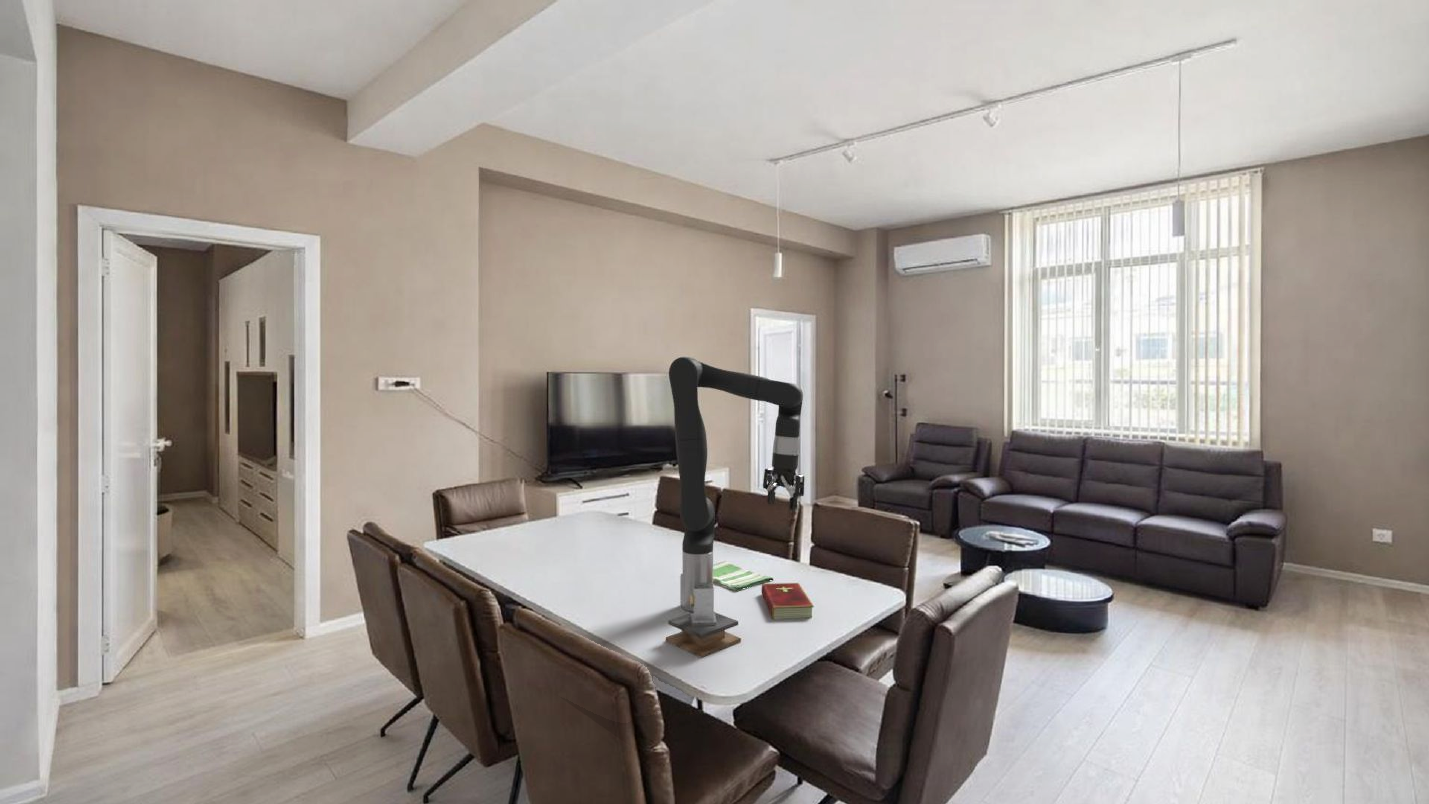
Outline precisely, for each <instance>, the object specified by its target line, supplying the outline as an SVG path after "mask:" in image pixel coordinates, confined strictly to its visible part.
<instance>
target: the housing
mask: <svg viewBox="0 0 1429 804" xmlns="http://www.w3.org/2000/svg"><path fill="white" fill-rule="evenodd" d="M714 592H715V587H714V583H712V582H708V583H694V595H690V607H694V614H691V623H692V626H707V625H717V622H716V617H715V613H716V612H715V607H714V605H715V593H714ZM714 612H715V613H714Z"/></svg>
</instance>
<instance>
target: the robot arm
mask: <svg viewBox="0 0 1429 804" xmlns="http://www.w3.org/2000/svg"><path fill="white" fill-rule="evenodd" d="M668 369H669V370H668V380H669V383H670V389H671V395H672V400H673V408H674V409H673V411H674V412H673V414H674V417H673V418H674V437H675V447H676V448H675V449H676V457H677V458H676V459H677V468H678V469H677V470H678V474H679V475H678V476H679V482H680V505H679V508H680V509H679V514H680V515H679V516H680V517H679V518H680V520H681V522H682V525H683V526H684V534H683V539H682V545H681V546H682V573H680V578H679V579H680V581H679V583H680V588H679V589H680V597H679V599H680V603H679V604H680V606H682V609H683V610H685V611H688V612H691V613H692V612H694V607H690V595H694V583H708V582H712V583H713V565H714V541H715V529H716V528H715V527H716V526H715V525H716V523H715V522H716V512H715V506H714V504H713V501H711V499H709V498H708V497H707V494H706V493H707V492H706V482H705V481H706V472H707V464H708V463H707V461H708V442H707V441H708V440H707V431H706V427H705V423H704V420H703V417H702V413H701V410H700V407H699V399H698V398H699V397H698V396H699V395H698V393H699V392H698V388H706V389H713V390H718V391H722V392H725V393H728V394H732V395H734V396H737V397H741V398H743V399H744V398H745V399H749V400H753V401H759V402H766V403H769V404H773V405H776V406H778V414H777V417H776V420H775V421H776V422H775V429H774V430H775V431H774V439H773V443H772V444H773V445H772V454H771V455H772V456H771V457H772V458H771V467H772V468H765V469H764V474H763V480H762V481H763V482H762V488H763V489H765V490H766V492H767V498H766V500H767V504H768V505H770V506H772V505H775V503H776V490H777V488H779V487H782V488H785V490H786V491H787V492H788V494H789V496H790V497H789V502H788V503H789V505H788V510H789V511H791V512H794V511H796V509H797V508H798V498H800V497H804V496H805V476H804V474H797V473H796V472H797V469H798V468H799V456H800V455H799V454H800V432H801V429H800V428H801V413H802V409H803V408H802V407H803V399H804V393H803V390H802V388H801V387H800V386H799V385H798V384H796V383H792V382H785V381H781V380H774V379H773V380H772V379H769V378H768V377H764V376H759V375H756V374H750V373H745V372H739V371H732V370H726V369H722V368H719V367H715V366H711V365H709V364H706V363H704V362H701V361H699V360H698V359H695V358H693V357H689V356H688V357H686V356H681V357H678V358H676V359H674V360H673V361H672V363H671V364H670V366H669V368H668ZM713 584H714V583H713Z"/></svg>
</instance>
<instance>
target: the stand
mask: <svg viewBox="0 0 1429 804" xmlns="http://www.w3.org/2000/svg"><path fill="white" fill-rule="evenodd" d="M714 613H715V617H716V622H717V625H707V626H692V623H691V614H694V612H692V611H691V612H690V613H686V614H684V615H680V616H678V617H674V618H671V619H669V620H667V621H668V622H667V623H668V625H669V626H671V627H674V628H676V629H678V630H681V631H680V632H677V633H674V634H672V635H668V636H665V641H666V642H667V641H668V642H667V643H669V642H670V644H671V643H672V645H673V644H675V645H677V646H676V647H677V648H680V647H682V648H683V650H684V649H685V651H686V650H687V651H686V652H688V651H689V652H688V653H690V652H692V653H691V654H693V653H694V654H693V655H695V656H697V655H698V656H697V657H699V656H700V657H699V658H704V657H707V656H710V655H712V654H714V653H716V652H720V651H722V650H724V649H727V648H729V647H732V646H735V645H736V644H739V643H741V642H742V638H741V637H739V636H737V635H734V634H732V633H729V632H727V631H726V630H729V629H732V628H734V627H737V626H738V625H739V621H738V620H736V619H733V618H732V617H728V616H726V615H722V614H720V613H718V612H715V611H714ZM675 645H674V646H675ZM682 648H681V649H682ZM711 653H712V654H711ZM706 655H707V656H706Z"/></svg>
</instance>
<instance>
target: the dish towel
mask: <svg viewBox="0 0 1429 804" xmlns="http://www.w3.org/2000/svg"><path fill="white" fill-rule="evenodd" d="M770 580H772V581H770ZM773 581H774V578H773V577H771V576H768V575H763V574H761V573H756V572H753V571H750V570H749V569H748V570H747V569H745V568H742V567H740V566H737V565H735V564H732V563H730V562H728V561H726V560H724V561H720V562H718V563H715V564H714V563H713V585H717V586H720V587H723V588H725V589H729V590H732V591H736V592H739V591H742V589H743V588H746V589H749V587H750V588H753V587H755V586H754V585H756V586H758V584H759V585H761V584H760V583H762V584H763V583H764V584H768V583H770V582H773ZM752 586H753V587H752ZM747 587H748V588H747ZM743 590H744V589H743Z"/></svg>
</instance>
